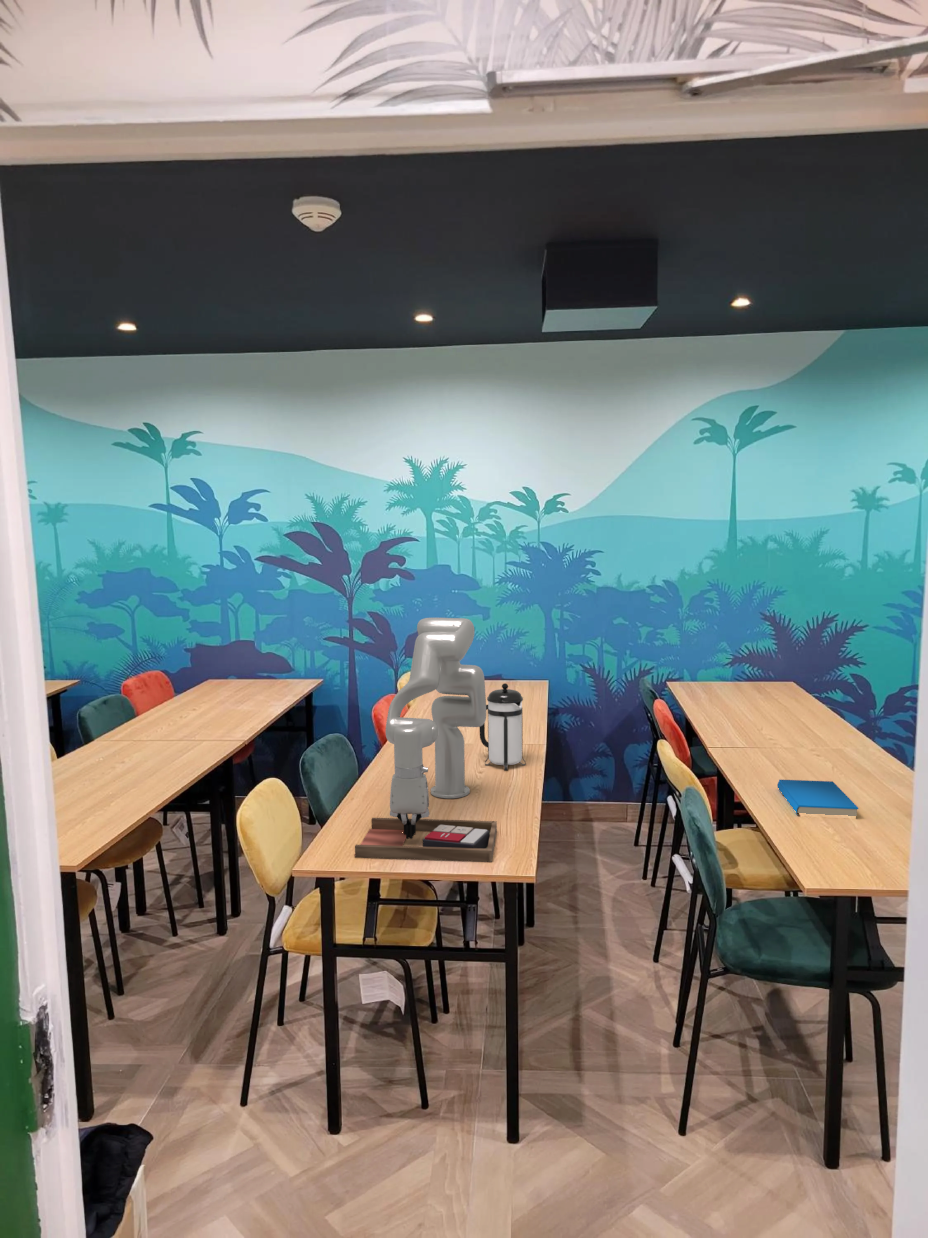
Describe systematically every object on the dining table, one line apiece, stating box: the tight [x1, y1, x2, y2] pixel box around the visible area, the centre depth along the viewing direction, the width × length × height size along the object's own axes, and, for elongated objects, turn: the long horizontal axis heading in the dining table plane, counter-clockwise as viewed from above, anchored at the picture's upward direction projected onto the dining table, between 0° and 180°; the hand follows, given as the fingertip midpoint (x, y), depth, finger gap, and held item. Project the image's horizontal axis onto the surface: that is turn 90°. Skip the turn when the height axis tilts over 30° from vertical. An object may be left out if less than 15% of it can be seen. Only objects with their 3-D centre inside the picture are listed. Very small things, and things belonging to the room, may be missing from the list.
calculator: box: [422, 825, 490, 849], centre depth 210 cm, size 11×4×15 cm
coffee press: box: [479, 683, 527, 772], centre depth 285 cm, size 17×16×30 cm
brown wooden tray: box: [353, 817, 498, 863], centre depth 213 cm, size 21×36×3 cm, turn 84°
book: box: [777, 779, 859, 817], centre depth 242 cm, size 17×4×25 cm
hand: (410, 837), depth 214 cm, fingers closed
